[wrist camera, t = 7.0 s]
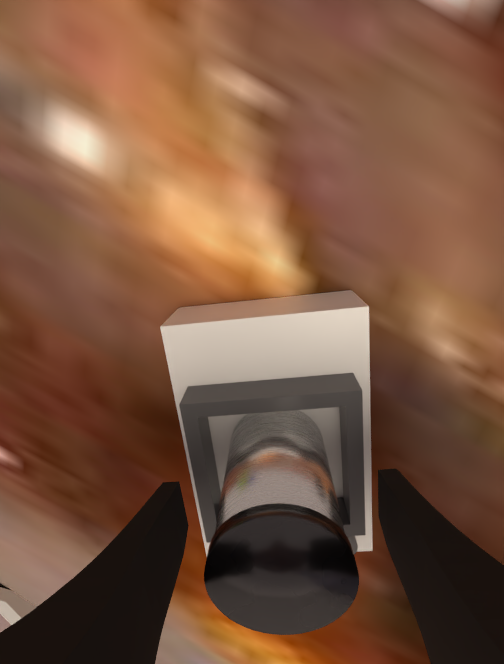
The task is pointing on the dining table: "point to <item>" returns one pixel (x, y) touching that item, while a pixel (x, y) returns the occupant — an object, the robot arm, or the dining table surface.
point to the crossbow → (13, 606)
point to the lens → (280, 530)
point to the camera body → (275, 389)
